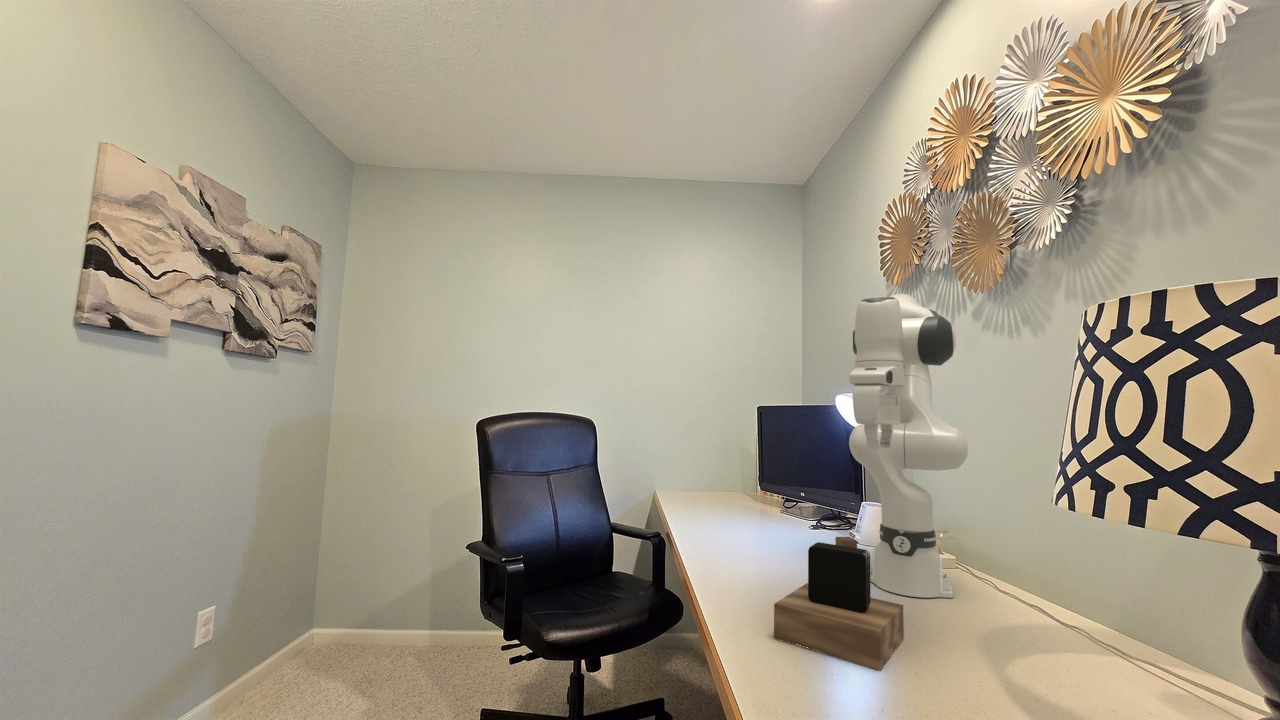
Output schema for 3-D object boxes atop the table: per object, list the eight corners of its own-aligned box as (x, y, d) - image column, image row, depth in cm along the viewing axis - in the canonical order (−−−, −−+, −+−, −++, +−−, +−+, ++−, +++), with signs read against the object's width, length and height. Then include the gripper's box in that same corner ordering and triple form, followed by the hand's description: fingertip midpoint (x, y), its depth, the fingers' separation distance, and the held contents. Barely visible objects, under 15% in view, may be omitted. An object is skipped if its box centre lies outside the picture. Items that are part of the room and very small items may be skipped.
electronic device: (814, 595, 102) (814, 541, 103) (870, 607, 96) (870, 550, 97) (807, 601, 98) (808, 545, 99) (866, 614, 93) (865, 554, 94)
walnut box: (806, 613, 108) (806, 583, 109) (903, 639, 97) (903, 605, 98) (773, 638, 96) (774, 603, 96) (880, 670, 85) (880, 631, 85)
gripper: (876, 381, 115) (876, 445, 114) (846, 373, 99) (846, 449, 98) (908, 380, 111) (909, 447, 110) (882, 373, 95) (883, 451, 94)
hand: (879, 448), depth 104 cm, fingers open, 8 cm apart
